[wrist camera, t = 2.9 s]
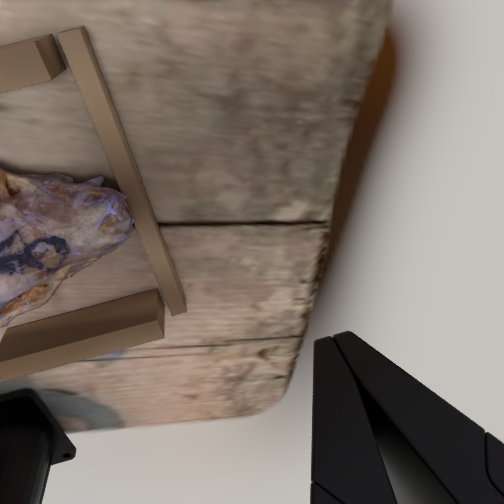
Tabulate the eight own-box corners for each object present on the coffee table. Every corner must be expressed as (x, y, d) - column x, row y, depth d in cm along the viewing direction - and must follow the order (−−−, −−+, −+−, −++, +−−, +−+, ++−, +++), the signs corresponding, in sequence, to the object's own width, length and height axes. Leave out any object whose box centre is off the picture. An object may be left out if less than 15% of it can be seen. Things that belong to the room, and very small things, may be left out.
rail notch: (185, 300, 23) (188, 331, 21) (18, 345, 23) (3, 381, 21) (83, 26, 16) (71, 32, 14) (-167, 87, 15) (-220, 102, 13)
